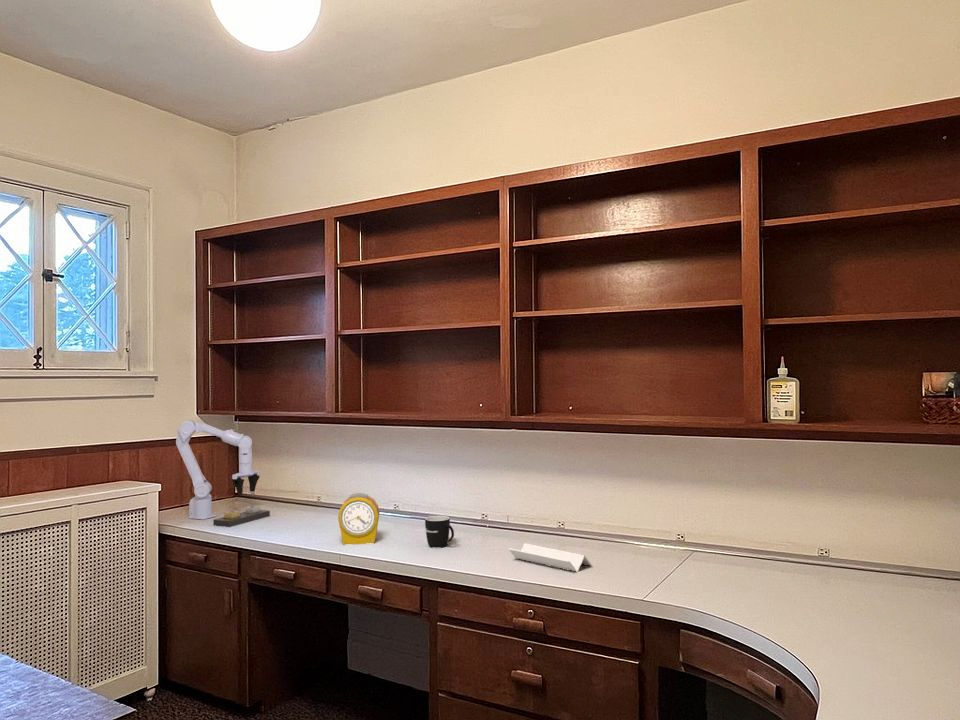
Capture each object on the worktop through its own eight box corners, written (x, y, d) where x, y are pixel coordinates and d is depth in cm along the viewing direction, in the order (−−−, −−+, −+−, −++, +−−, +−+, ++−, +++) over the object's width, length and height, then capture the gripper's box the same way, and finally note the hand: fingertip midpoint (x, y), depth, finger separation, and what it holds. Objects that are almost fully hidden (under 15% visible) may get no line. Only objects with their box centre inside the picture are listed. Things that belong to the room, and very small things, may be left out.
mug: (420, 546, 267) (419, 519, 267) (436, 541, 274) (436, 514, 275) (445, 551, 260) (445, 522, 260) (461, 546, 267) (461, 518, 267)
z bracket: (524, 569, 252) (532, 553, 255) (585, 583, 234) (592, 566, 238) (508, 548, 245) (516, 533, 249) (568, 561, 228) (576, 544, 232)
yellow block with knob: (224, 524, 314) (223, 512, 314) (232, 522, 318) (231, 510, 318) (231, 525, 311) (231, 513, 311) (239, 522, 315) (239, 511, 315)
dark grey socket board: (213, 525, 311) (213, 519, 311) (254, 514, 333) (254, 509, 333) (229, 527, 307) (228, 521, 307) (269, 516, 328) (269, 510, 328)
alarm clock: (338, 545, 272) (337, 495, 272) (340, 540, 280) (339, 492, 280) (378, 543, 273) (377, 494, 273) (380, 538, 281) (379, 490, 281)
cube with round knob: (244, 518, 324) (244, 507, 324) (252, 516, 328) (251, 505, 328) (252, 519, 322) (252, 507, 322) (259, 517, 326) (259, 505, 326)
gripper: (240, 465, 324) (240, 496, 324) (263, 461, 337) (264, 490, 337) (228, 464, 327) (229, 495, 327) (252, 460, 340) (252, 489, 340)
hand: (246, 492), depth 332 cm, fingers open, 7 cm apart
